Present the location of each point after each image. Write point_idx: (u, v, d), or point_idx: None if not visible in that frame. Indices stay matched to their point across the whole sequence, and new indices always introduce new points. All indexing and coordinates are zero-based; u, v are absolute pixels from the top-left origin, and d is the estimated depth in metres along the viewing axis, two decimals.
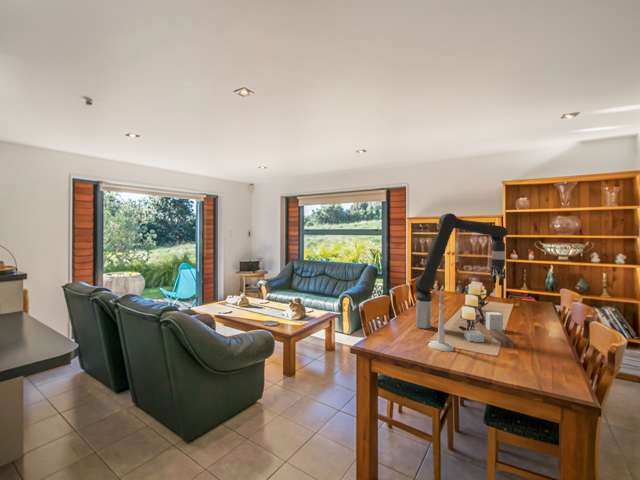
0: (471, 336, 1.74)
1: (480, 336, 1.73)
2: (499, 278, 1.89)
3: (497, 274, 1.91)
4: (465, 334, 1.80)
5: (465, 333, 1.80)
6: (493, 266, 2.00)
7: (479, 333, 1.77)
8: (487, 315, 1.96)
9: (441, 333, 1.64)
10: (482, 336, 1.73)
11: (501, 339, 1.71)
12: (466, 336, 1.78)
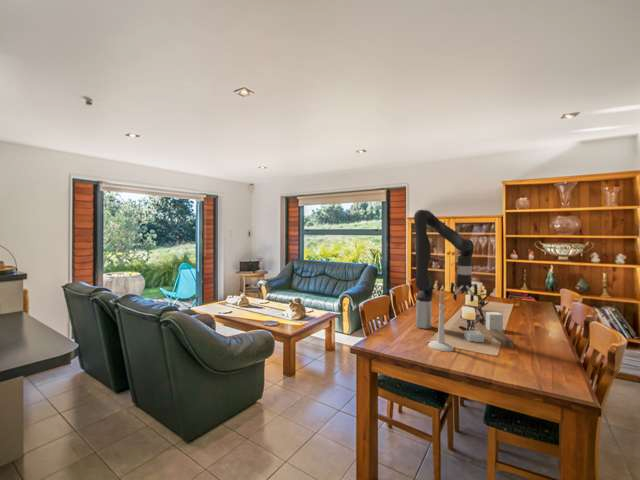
0: (471, 336, 1.74)
1: (480, 335, 1.73)
2: (473, 294, 1.78)
3: (470, 290, 1.78)
4: (465, 334, 1.80)
5: (465, 333, 1.80)
6: (452, 282, 1.82)
7: (479, 333, 1.77)
8: (487, 315, 1.96)
9: (441, 333, 1.64)
10: (482, 336, 1.73)
11: (501, 339, 1.71)
12: (466, 336, 1.78)
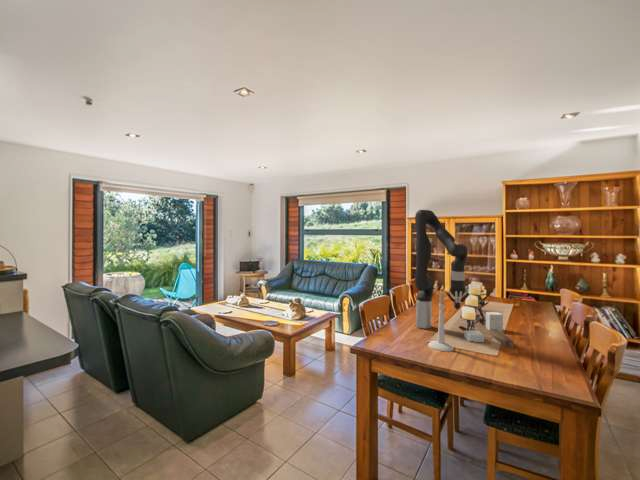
0: (471, 336, 1.74)
1: (480, 335, 1.73)
2: (460, 302, 1.77)
3: (460, 297, 1.76)
4: (465, 334, 1.80)
5: (465, 333, 1.80)
6: (446, 292, 1.79)
7: (479, 333, 1.77)
8: (487, 315, 1.96)
9: (441, 333, 1.64)
10: (482, 336, 1.73)
11: (501, 339, 1.71)
12: (466, 336, 1.78)
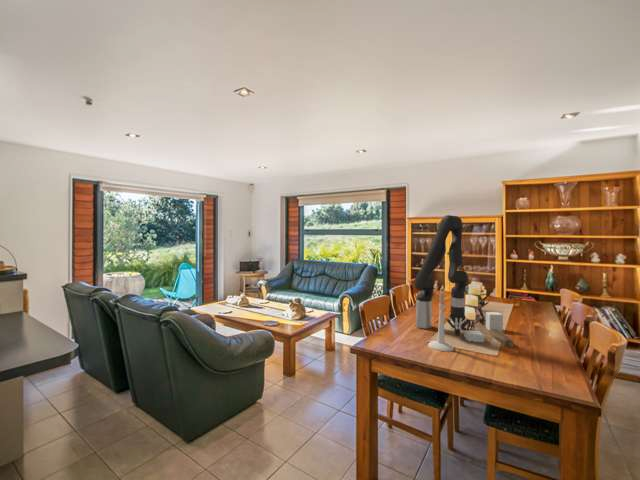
0: (471, 336, 1.74)
1: (480, 336, 1.73)
2: (460, 328, 1.77)
3: (460, 324, 1.77)
4: (465, 334, 1.80)
5: (465, 333, 1.80)
6: (447, 318, 1.79)
7: (479, 333, 1.77)
8: (487, 315, 1.96)
9: (441, 333, 1.64)
10: (482, 336, 1.73)
11: (501, 339, 1.71)
12: (466, 336, 1.78)
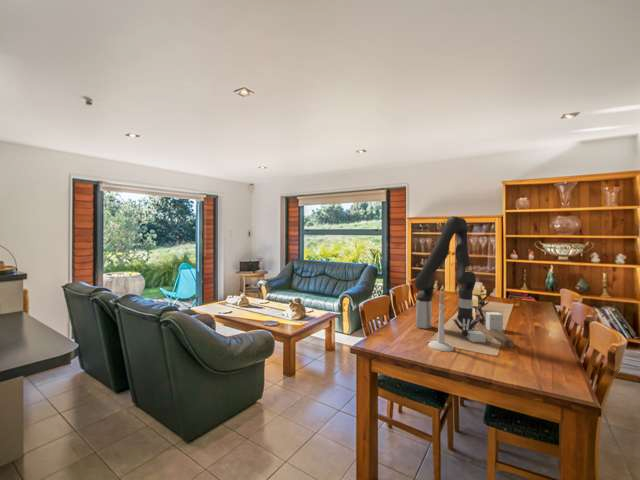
0: (472, 337, 1.74)
1: (482, 336, 1.73)
2: (467, 329, 1.77)
3: (468, 325, 1.76)
4: None
5: None
6: (454, 319, 1.79)
7: (480, 333, 1.76)
8: (487, 315, 1.96)
9: (441, 333, 1.64)
10: (483, 336, 1.73)
11: (501, 339, 1.71)
12: (467, 336, 1.78)
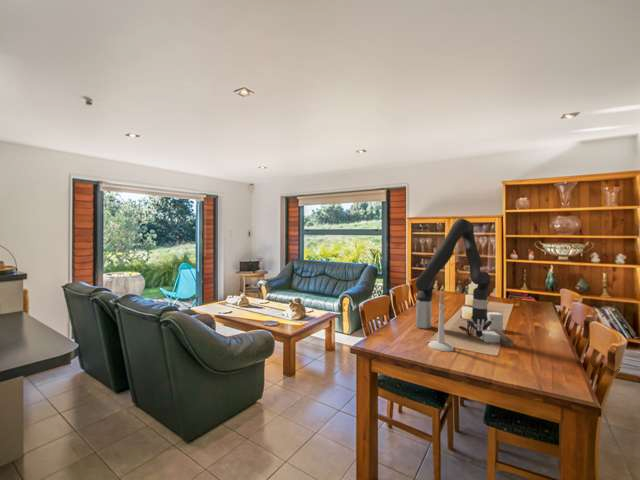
0: (486, 337, 1.73)
1: (496, 336, 1.73)
2: (481, 330, 1.76)
3: (482, 325, 1.75)
4: None
5: None
6: (468, 320, 1.78)
7: (495, 334, 1.76)
8: (487, 315, 1.96)
9: (441, 333, 1.64)
10: (498, 337, 1.73)
11: (501, 339, 1.71)
12: (481, 337, 1.78)
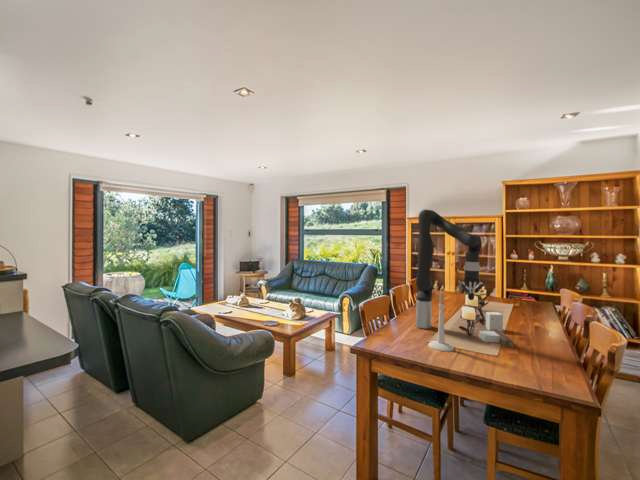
0: (486, 337, 1.73)
1: (496, 336, 1.73)
2: (473, 292, 1.76)
3: (474, 288, 1.75)
4: (480, 335, 1.80)
5: (480, 333, 1.80)
6: (460, 283, 1.78)
7: (494, 333, 1.76)
8: (487, 315, 1.96)
9: (441, 333, 1.64)
10: (498, 336, 1.73)
11: (501, 339, 1.71)
12: (481, 336, 1.78)
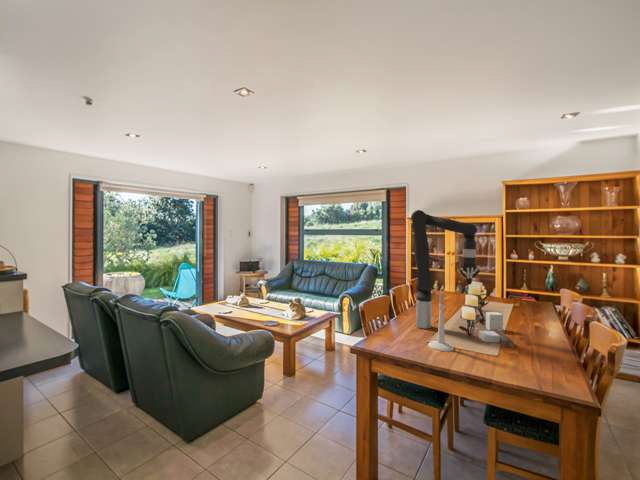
0: (486, 337, 1.74)
1: (496, 336, 1.73)
2: (471, 277, 1.91)
3: (472, 273, 1.90)
4: (480, 335, 1.80)
5: (480, 333, 1.80)
6: (459, 269, 1.93)
7: (494, 333, 1.76)
8: (487, 315, 1.96)
9: (441, 333, 1.64)
10: (498, 336, 1.73)
11: (501, 339, 1.71)
12: (481, 336, 1.78)
